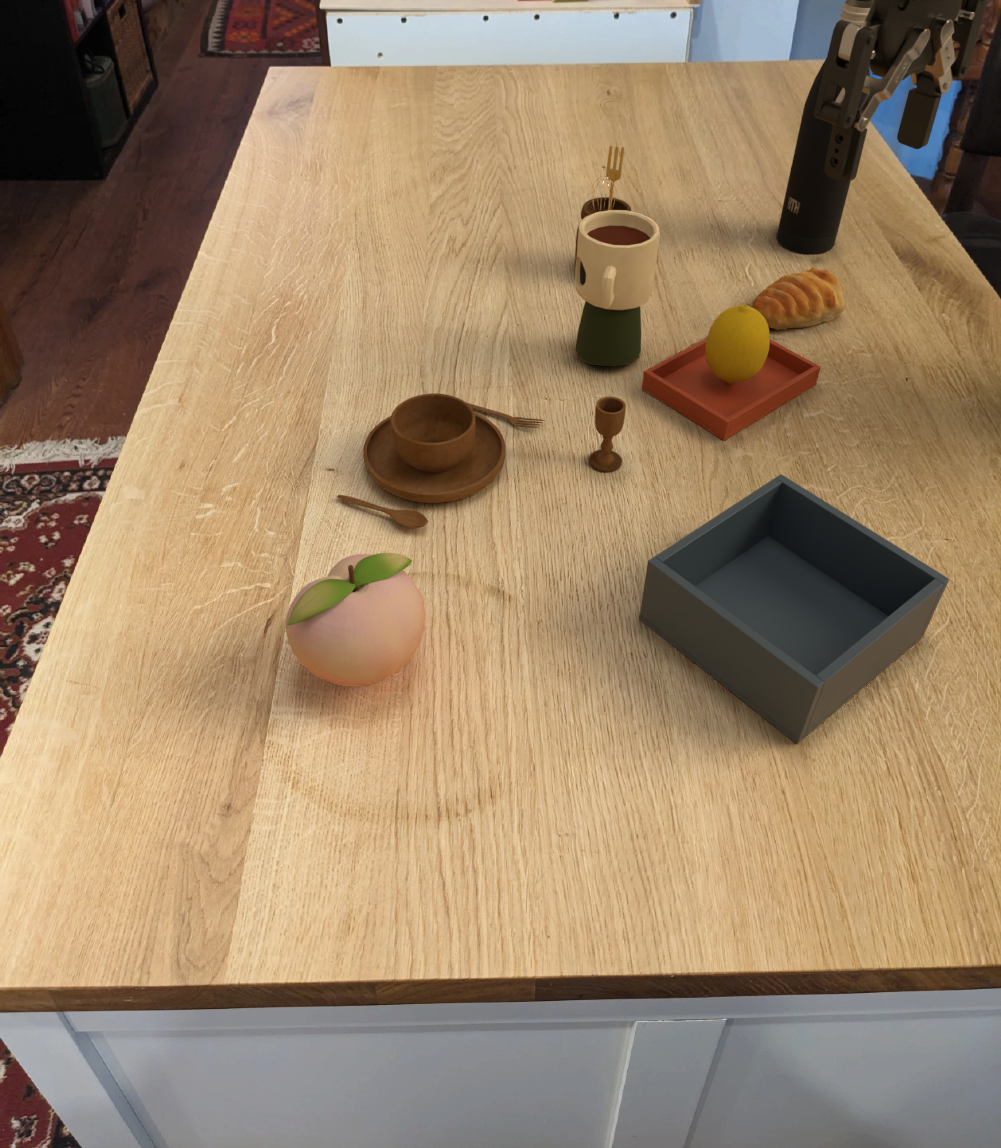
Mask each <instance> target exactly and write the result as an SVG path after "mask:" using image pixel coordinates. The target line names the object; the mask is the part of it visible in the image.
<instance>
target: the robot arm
mask: <svg viewBox="0 0 1001 1148" xmlns="http://www.w3.org/2000/svg"><path fill="white" fill-rule="evenodd" d="M987 3H988V0H873V2H872V5H871V8H870V10H869V13H868V15H867V17H866V19H865V21H864V22H862V23H858V24H855V23H851V22H848V21H845V20H841V19H840V20H838V21H839V22H838V21H837V22H838V23H837V22H836V23H837V24H836V23H835V25H834V28H833V30H832V34H831V39H830V42H829V48H828V51H827V55H826V58H827V59H826V58H825V60H826V63H825V68H824V72H823V76H822V80H821V85H820V89H819V93H818V97H817V102H816V106H815V110H814V116H815V117H816V118H818V119H821V120H824V121H826V122H829V123H832V126H833V128H832V133H831V138H830V142H829V147H828V152H827V156H826V161H825V174H826V175H827V176H828V177H830V178H833V179H835V180H837V181H840V182H842V183H847V182H849V181H851V182H852V181H854V180H855V179H856V178H857V174H858V170H859V166H860V162H861V158H862V154H863V150H864V145H865V141H866V137H867V133H868V128H867V127H868V125H869V124H870V122H871V120H872V118H873V117H874V115H875V114H876V112H877V110H878V108H879V106H880V105H881V103H882V102H884V101H889V99H891V98H892V97H893V95H894V94H895V92H896V91H897V89H898V87H899V86H900V83H901V82H902V81H904V80H906V79H907V78H908V77H909V76H910V79H911V83H912V85H913V86H915V87H913V88H911V89H908V93H907V97H906V101H905V104H904V108H903V112H902V116H901V119H900V124H899V127H898V130H897V136H896V137H897V138H896V139H897V142H898V143H899V144H901V145H904V146H906V147H909V148H911V149H915V150H920V149H922V148H924V147H926V146H928V144H929V141H930V138H931V134H932V132H933V131H932V130H933V127H934V123H935V120H936V118H937V117H936V116H937V113H938V109H939V107H940V103H941V99H942V96H943V95H946V94H947V93H948V92H949V90H950V89H951V87H952V84H953V80H954V79H958V80H962V79H964V78H965V77H966V76H967V74H968V72H969V70H970V66H971V63H972V60H973V55H974V52H975V47H976V44H977V40H978V36H979V33H980V29H981V26H982V22H983V19H984V14H985V12H986V11H985V10H986V7H987ZM954 42H957V43H958V44H959V48H958V52H957V57H956V54H955V48H954V47H955V46H954ZM868 67H869V70H870V71H871V73H872V75H874V76H877V77H880V78H876V77H872V76H871V75H870V76H867V71H868ZM837 85H838V86H841V87H843V88H842V90H841V92H840V94H839V95H838V97H837V99H836V101H835V102H833V99H834V95H835V91H836V87H837ZM862 92H864V93H866V94H868V95H867V97H866V99H865V101H864V102H863V104H862V106H861V108H860V109H858V105H859V101H860V98H861V94H862Z"/></svg>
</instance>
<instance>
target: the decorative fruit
mask: <svg viewBox="0 0 1001 1148" xmlns="http://www.w3.org/2000/svg"><path fill="white" fill-rule="evenodd" d="M412 562H413V560H412V559H411V558H410V557H407V556H406V555H403V554H400V553H396V552H395V553H394V552H380V553H374V554H370V553H358V554H353V555H348V556H346V557H344V558H342V559H340V560H338V561H337V563H336V564H334V565H333V567H332V568H331V569H330V571H329V572H328V574H327V575H326V576H325V577H321V578H318V579H315V580H312V581H310V582H308V584H306V585H305V586H303V587H302V588H301V589H300V590H299V592H298V593H297V594H296V596H295V597H294V598H293V600H292V601H291V603H290V605H289V607H288V610H287V612H286V615H285V616H286V617H285V633H286V638H287V642H288V644H289V647H290V649H291V651H292V654H293V655H294V657H295V658H296V659H297V661H298V662H299V663H300V664H301V665H302V666H303V667H304V668H305V669H306V670H308V671H309V672H310V673H311V674H313V675H314V676H315V677H317V678H320V679H322V680H324V681H327V682H329V683H332V684H335V685H339V686H344V687H363V686H369V685H373V684H376V683H380V682H383V681H385V680H387V679H389V678H391V677H392V676H393V675H395V674H397V673H398V672H399V671H400V670H402V669H403V668H404V667H405V666H406V665H407V664H408V663H409V662H410V661H411V660H412V658H413V657H414V656H415V654H416V653H417V650H418V649H419V647H420V644H421V642H422V638H423V635H424V631H425V626H426V607H425V602H424V599H423V595H422V593H421V591H420V589H419V587H418V586H417V585H416V584H415V582H414V581H413V580H412V578H411V577H410V576H409V574H407V572H406V571H405V569H407V568H408V567H409V566H410V565H411V564H412Z"/></svg>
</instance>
